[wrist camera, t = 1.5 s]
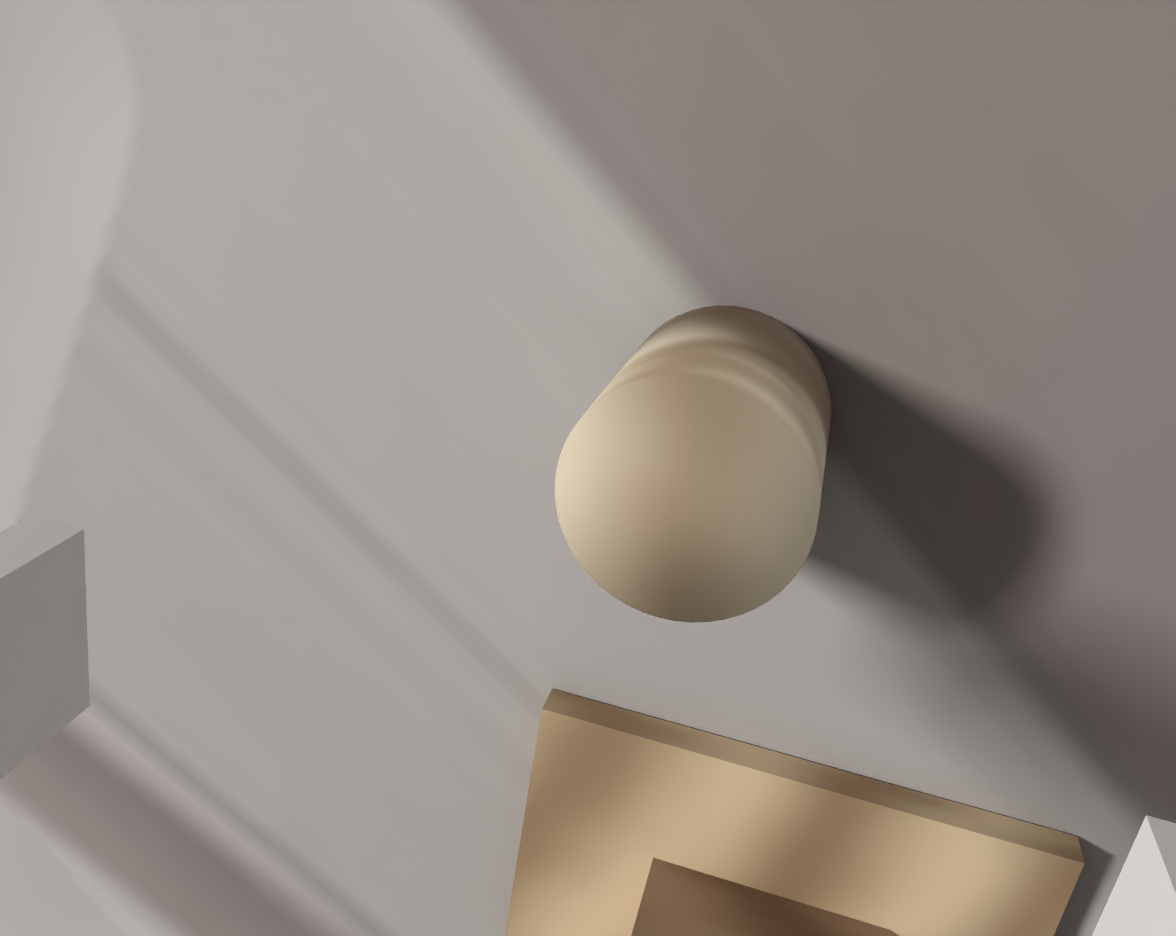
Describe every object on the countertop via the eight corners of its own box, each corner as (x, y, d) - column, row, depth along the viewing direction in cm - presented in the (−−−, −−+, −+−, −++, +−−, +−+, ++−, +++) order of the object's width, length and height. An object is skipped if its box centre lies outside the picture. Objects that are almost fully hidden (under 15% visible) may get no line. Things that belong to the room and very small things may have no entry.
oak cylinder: (854, 330, 24) (848, 409, 19) (804, 526, 26) (784, 650, 20) (641, 285, 25) (574, 349, 19) (607, 479, 27) (538, 585, 21)
